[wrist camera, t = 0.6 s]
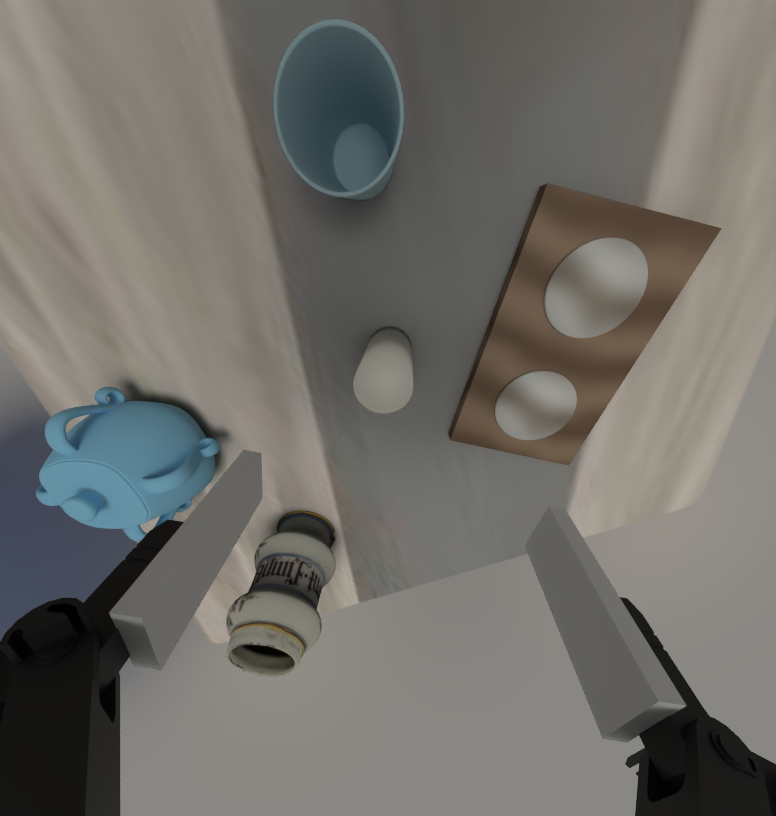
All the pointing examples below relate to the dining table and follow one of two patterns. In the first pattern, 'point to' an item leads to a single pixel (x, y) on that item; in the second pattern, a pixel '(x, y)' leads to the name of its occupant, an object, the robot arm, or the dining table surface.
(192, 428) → the decorative pot
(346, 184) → the cup
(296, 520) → the apothecary jar
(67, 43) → the dining table surface
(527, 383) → the seat board
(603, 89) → the dining table surface
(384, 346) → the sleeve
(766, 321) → the dining table surface
